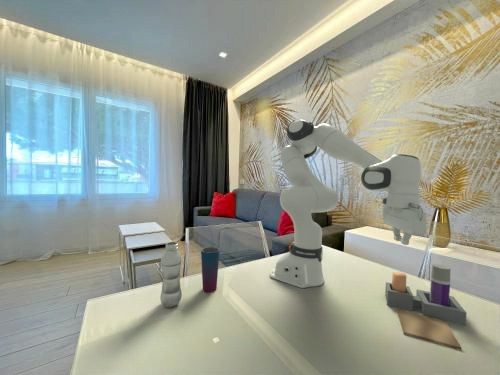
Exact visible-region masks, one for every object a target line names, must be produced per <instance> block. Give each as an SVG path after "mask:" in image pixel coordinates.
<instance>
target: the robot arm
mask: <svg viewBox="0 0 500 375" xmlns="http://www.w3.org/2000/svg"><path fill="white" fill-rule="evenodd" d="M286 136H287V137H288V139H289V142H290V144H289V145H287V146H285V147H283V148H282V150H281V152H280V162H281V166H282V168H283V172H284V174H285V176H286V180H287V181H288V182H287V183H289V185H290V187H285V188H283V190H282V191H281V193H280V195H279V204H280V206H281V209H282V210H283V211H284V212H286V213H287V214H288V216H289V217H290V219H291V221H292V223H293V229H294V238H293V239H294V241H292V242H291V243H290V244H289V247H288V250H289V251H287V253H284V254H283V255H282V256H281V257H279V258H278V260H277V262H276V263H275V266H274V267H273V268H272V269H271V270H270V272H269V276H270V278H272V279H274V280H277V281H281V282H283V283H285V284H289V285H292V286H295V287H297V288H301V289H306V288H311V287H318V286H321V285H323V284H324V283H325V276H324V274H323V273H324V272H323V266H322V265H323V264H322V261H323V258H324V257H323V254H324V253H323V251H324V250H323V246H322V239H323V228H322V227H321V226H320V224H319V223H317V222H315V221H314V219H313V218H312V214H314V213H326V212H330V211H333V210H335V209H336V208H337V206H338V204H339V195H338V193H337V191H336V190H335V189H334V188H332V187H329V186H328V185H326V183H325V184H324V183H323V181H322V180H321V179H319V178H318V177H317V176H316V175H315V174H314V173H313V171H312V169H311V168H310V166H309V164H308V162H307V159H309V158H311V157H312V156H313V155H315V154H316V153H317V150H318V148H319V149H321V151H323V152H324V153H325V154H326V155H328V156H329V157H331V158H333V159H336V160H338V161H345V162H348V163H349V162H350V163H353V164H355V165H358V166H359V167H361V168H362V169H363V171H362V172H361V175H360V176H361V177H360V181H361V184H362V185H363V187H364V188H365V189H367V190H369V191H376V192H378V191H379V192H384V191H385V192H388V194H387V196H385V197H383V198H382V200H381V201H382V202H381V204H382V205H383V206H382V221H383V223H384V224H386V225H388V226H389V227H391V228H392V229H391V230H392V233H393V240H395V241H397V242H400V244H402V245H405V246H408V245H409V244H410V239H411V237H412V236H418V237H419V236H420V237H425V235H426V234H427V216H426V215H427V214H426V213H425V211H424V209H423V208H422V206H421V205H420V202H421V191H420V185H421V181H422V165H421V161H420V158H418V157H417V156H416V155H412V154H411V155H410V154H403V153H397V154H393V155H391V157H389V158H387V159H386V160H383V161H382V160H381V159H379V158H378V157H376V156H375V155H373V154H371V153H370V152H369V151H367V150H365V149H364V148H362V146H360V145H359V144H358V143H357V142H355V141H354V140H353V139H352V138H351V137H349V136H348V135H347V134H346V133H344V132H343V131H342V130H340V129H339V128H336V127H335V126H333V125H331V124H328V123H320V124H318V125H317V126H315V125H314V123H313V122H309V121H307V120H304V119H295V120H293V121H291V122H290V123H288V125H287V127H286ZM401 231H402V236H401Z"/></svg>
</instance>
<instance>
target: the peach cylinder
mask: <svg viewBox="0 0 500 375" xmlns="http://www.w3.org/2000/svg"><path fill="white" fill-rule="evenodd" d="M407 276H408V275H407V274H405V273H403V272H400V271H393V272H392V279H391V283H392V290H394V291H398V292H403V293H406V286H407Z"/></svg>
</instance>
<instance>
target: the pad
mask: <svg viewBox="0 0 500 375" xmlns="http://www.w3.org/2000/svg"><path fill="white" fill-rule="evenodd" d="M396 312H397V316H398V319H399V322H400V325H401V329H402V333H403V334H404V335H407V336H410V337H414V338H417V339H421V340H425V341H428V342H432V343H435V344H438V345H443V346H446V347H450V348H452V349H453V348H454V349H457V350H460V351H462V346H461V345H460V343H459V341H458V339H457V337H455V334H454V333H453V331H452V330H451V328H450V327H449V324H448V323H447V321H444V320H440V319H436V318H432V317H428V316H424V315H423V314H420V313H419V314H418V313H414V312H412V311H411V312H410V311H406V310H404V309H403V310H401V309H399V308H397V309H396Z"/></svg>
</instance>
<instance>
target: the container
mask: <svg viewBox="0 0 500 375" xmlns="http://www.w3.org/2000/svg"><path fill="white" fill-rule="evenodd" d="M430 276H431V277H430V288H429V289H430V290H429V292H430V303H434V304H439V305H444V306H448V307H449V296H450V293H451V292H450V291H451V267H450V266H448V265H445V264H440V263H432V266H431V275H430Z"/></svg>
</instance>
